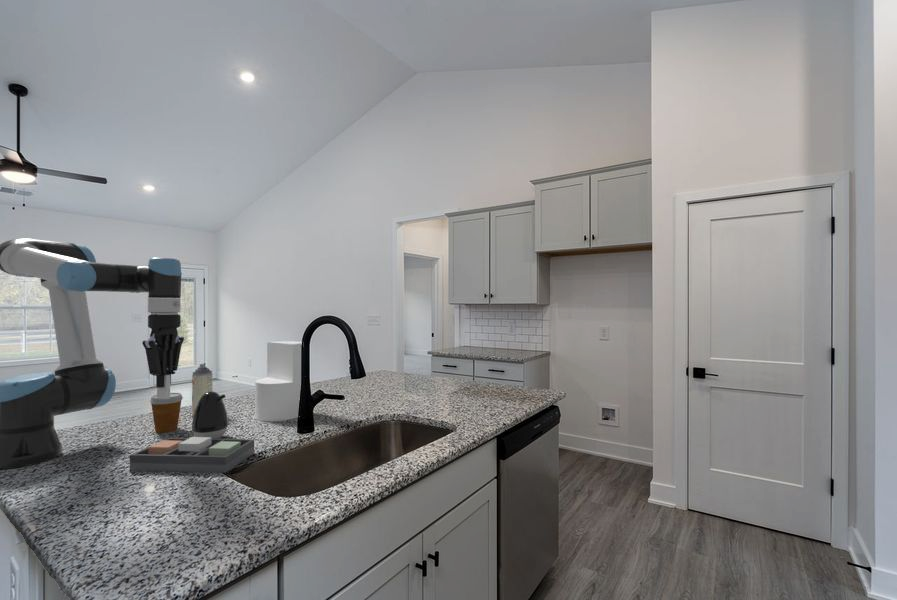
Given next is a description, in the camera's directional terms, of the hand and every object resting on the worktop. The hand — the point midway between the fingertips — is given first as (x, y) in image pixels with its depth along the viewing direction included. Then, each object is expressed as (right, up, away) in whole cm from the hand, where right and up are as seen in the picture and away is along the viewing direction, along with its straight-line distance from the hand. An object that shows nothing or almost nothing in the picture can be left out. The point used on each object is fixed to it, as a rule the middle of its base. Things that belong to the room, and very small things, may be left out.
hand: (163, 398), depth 117 cm
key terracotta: (+1, -14, -1) cm, 14 cm away
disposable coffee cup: (-18, -18, +28) cm, 37 cm away
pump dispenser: (+3, -18, +18) cm, 25 cm away
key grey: (+10, -13, -1) cm, 16 cm away
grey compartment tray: (+10, -17, -1) cm, 20 cm away
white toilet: (+14, -18, +47) cm, 52 cm away
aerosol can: (-16, -18, +47) cm, 52 cm away
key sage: (+18, -14, -2) cm, 23 cm away
